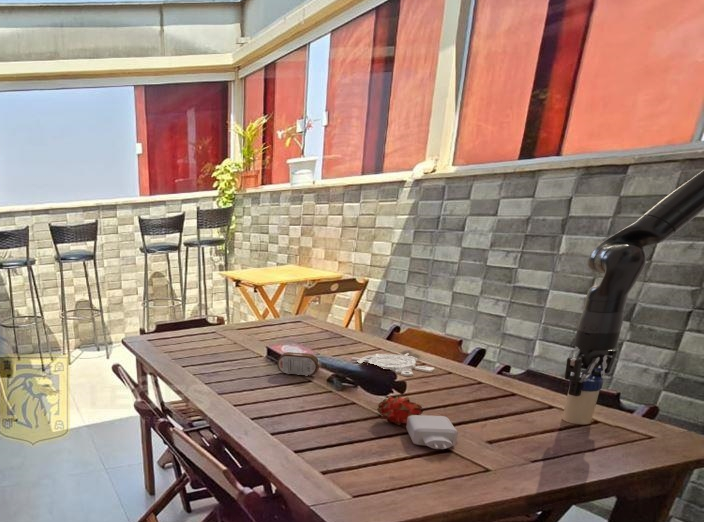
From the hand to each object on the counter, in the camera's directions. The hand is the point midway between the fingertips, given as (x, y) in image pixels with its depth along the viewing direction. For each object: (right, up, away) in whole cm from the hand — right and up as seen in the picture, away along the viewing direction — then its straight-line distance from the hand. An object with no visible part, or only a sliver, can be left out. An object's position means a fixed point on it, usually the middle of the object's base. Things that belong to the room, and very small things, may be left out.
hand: (583, 392), depth 125 cm
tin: (-50, +8, +59) cm, 78 cm away
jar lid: (0, +3, -1) cm, 4 cm away
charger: (-39, -13, -1) cm, 41 cm away
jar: (+1, -7, +3) cm, 8 cm away
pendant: (-15, +11, +59) cm, 62 cm away
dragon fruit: (-40, -8, +13) cm, 42 cm away
